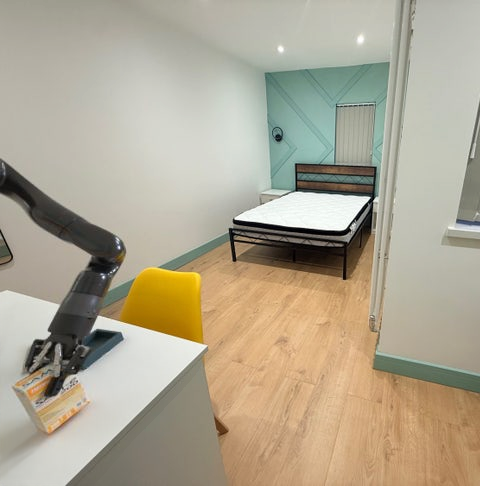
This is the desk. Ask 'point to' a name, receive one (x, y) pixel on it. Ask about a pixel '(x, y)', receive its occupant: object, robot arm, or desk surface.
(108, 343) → the pad dock
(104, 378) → the desk surface
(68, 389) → the supplement box
